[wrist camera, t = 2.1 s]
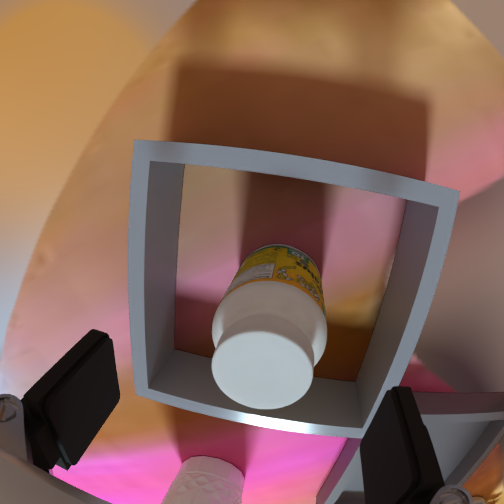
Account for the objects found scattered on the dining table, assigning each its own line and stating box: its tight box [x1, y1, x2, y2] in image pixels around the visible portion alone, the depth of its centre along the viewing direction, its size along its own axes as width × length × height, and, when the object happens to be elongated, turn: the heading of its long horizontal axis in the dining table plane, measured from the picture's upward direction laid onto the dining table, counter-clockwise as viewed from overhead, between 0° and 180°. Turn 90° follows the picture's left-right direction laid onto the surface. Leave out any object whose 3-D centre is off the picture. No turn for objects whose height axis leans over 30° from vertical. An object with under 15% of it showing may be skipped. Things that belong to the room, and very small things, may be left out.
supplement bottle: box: [212, 244, 327, 409], centre depth 16 cm, size 5×5×10 cm
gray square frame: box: [128, 140, 460, 438], centre depth 19 cm, size 16×16×5 cm
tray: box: [316, 392, 504, 504], centre depth 23 cm, size 15×17×3 cm
